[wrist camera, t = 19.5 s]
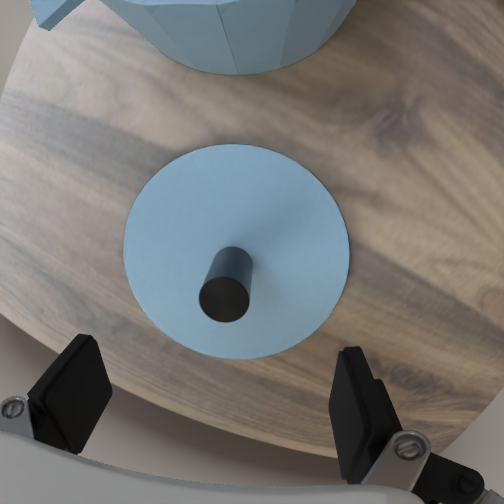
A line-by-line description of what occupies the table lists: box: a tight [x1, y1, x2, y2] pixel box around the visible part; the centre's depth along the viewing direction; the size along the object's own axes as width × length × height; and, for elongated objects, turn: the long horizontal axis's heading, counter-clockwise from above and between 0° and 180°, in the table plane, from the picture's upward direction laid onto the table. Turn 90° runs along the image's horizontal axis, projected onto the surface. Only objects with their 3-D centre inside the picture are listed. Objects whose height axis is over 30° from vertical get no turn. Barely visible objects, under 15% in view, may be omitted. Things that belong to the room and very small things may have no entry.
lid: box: [123, 144, 349, 359], centre depth 20 cm, size 17×17×7 cm
